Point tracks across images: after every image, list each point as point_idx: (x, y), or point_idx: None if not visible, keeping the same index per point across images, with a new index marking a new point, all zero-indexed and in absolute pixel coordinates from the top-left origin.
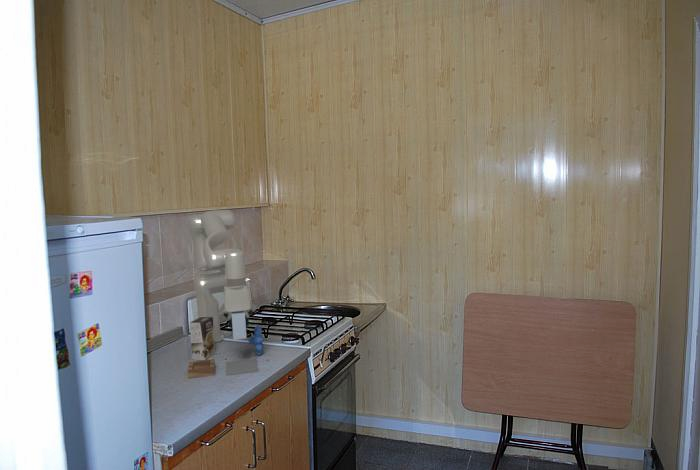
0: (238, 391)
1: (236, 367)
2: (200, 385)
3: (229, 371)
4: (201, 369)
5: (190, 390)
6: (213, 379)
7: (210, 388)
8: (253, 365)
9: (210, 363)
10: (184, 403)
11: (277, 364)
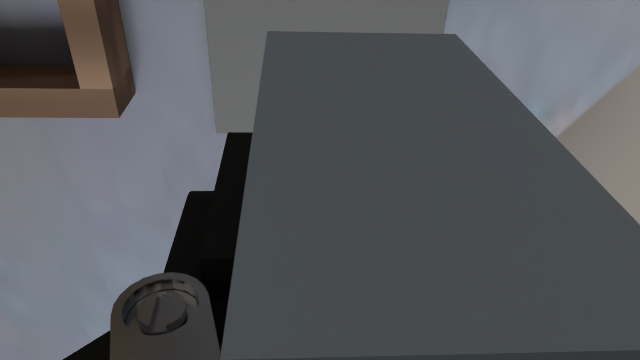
0: None
1: (288, 20)
2: (82, 215)
3: (237, 85)
4: (22, 115)
5: (44, 256)
6: (142, 159)
7: (150, 263)
8: (417, 27)
9: (61, 12)
10: (66, 356)
11: (582, 50)
